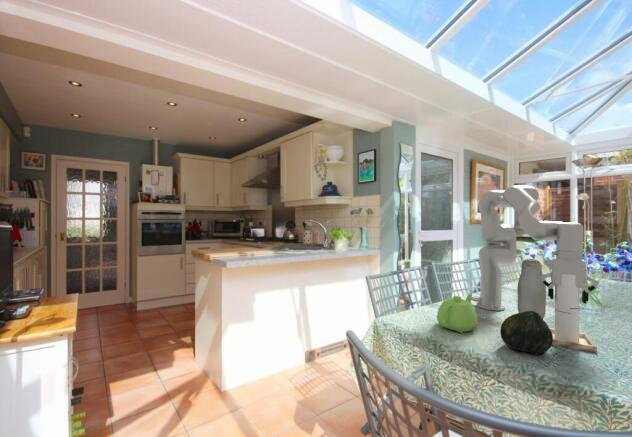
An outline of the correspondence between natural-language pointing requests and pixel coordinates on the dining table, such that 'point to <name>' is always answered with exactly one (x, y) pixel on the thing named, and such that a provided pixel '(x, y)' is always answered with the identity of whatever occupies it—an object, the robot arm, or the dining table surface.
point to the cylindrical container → (567, 309)
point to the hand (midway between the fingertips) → (567, 300)
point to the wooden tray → (583, 344)
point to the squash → (527, 332)
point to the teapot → (457, 314)
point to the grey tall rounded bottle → (531, 288)
